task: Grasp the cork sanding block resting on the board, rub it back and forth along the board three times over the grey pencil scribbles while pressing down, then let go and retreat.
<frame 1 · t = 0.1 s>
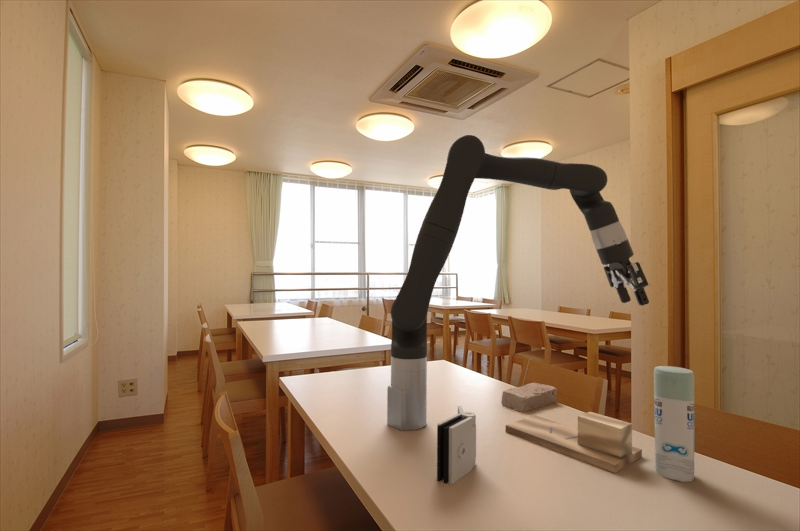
hand: (635, 303, 102), 31 cm above the table, tool tilted 20°, fingers open, 8 cm apart
brick: (529, 404, 121), on the table
hinge: (456, 468, 80), on the table
board: (568, 443, 92), on the table
sanding block: (604, 448, 86), point 2 cm above the table, touching board
spray paint can: (674, 474, 78), on the table
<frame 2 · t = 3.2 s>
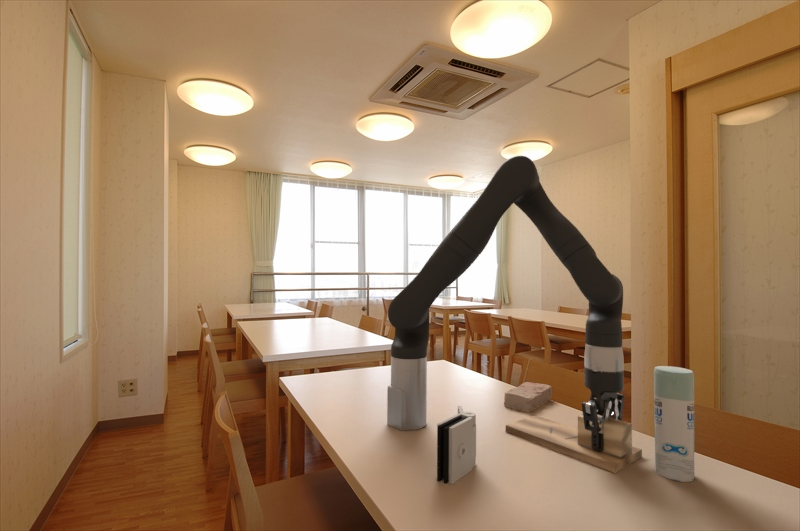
hand: (604, 446, 86), 2 cm above the table, tool pointing down, fingers closed on sanding block, 5 cm apart
sanding block: (604, 448, 86), point 2 cm above the table, touching board, gripper
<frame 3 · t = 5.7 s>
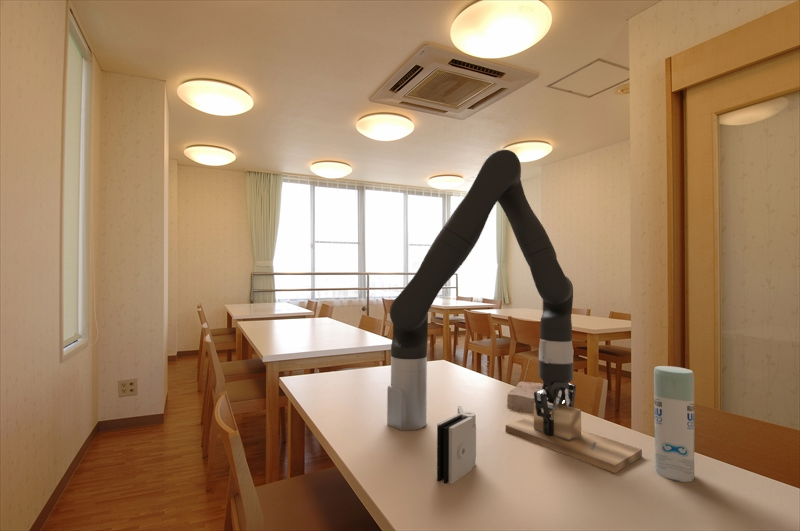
hand: (555, 431, 95), 2 cm above the table, tool pointing down, fingers closed on sanding block, 5 cm apart
sanding block: (556, 432, 94), point 2 cm above the table, touching gripper
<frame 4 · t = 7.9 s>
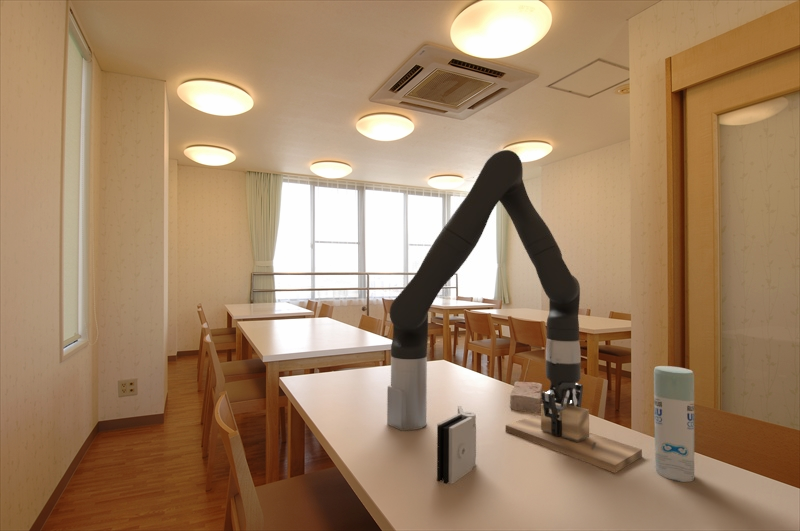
hand: (563, 432, 94), 2 cm above the table, tool pointing down, fingers closed on sanding block, 5 cm apart
sanding block: (564, 433, 93), point 2 cm above the table, touching gripper
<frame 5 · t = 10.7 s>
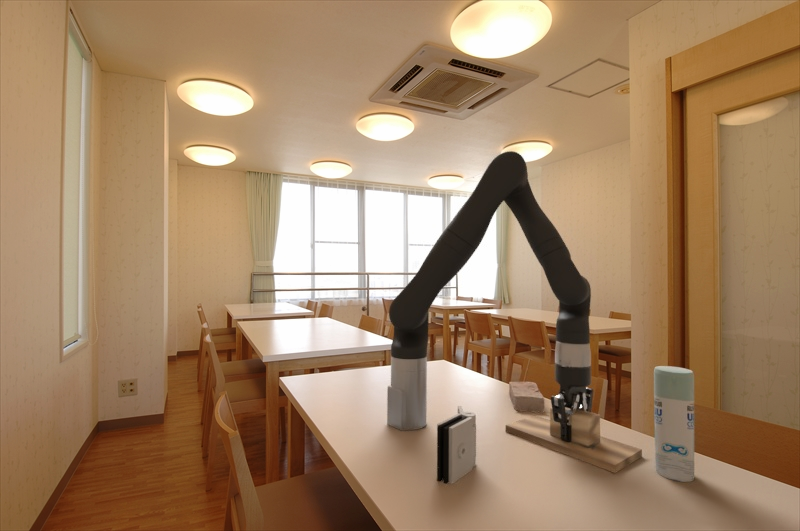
hand: (572, 437, 91), 2 cm above the table, tool pointing down, fingers closed on sanding block, 5 cm apart
sanding block: (574, 438, 91), point 2 cm above the table, touching gripper
when the fingers open (2 cm above the table, at t = 12.9 s): sanding block stays where it is, resting on board.
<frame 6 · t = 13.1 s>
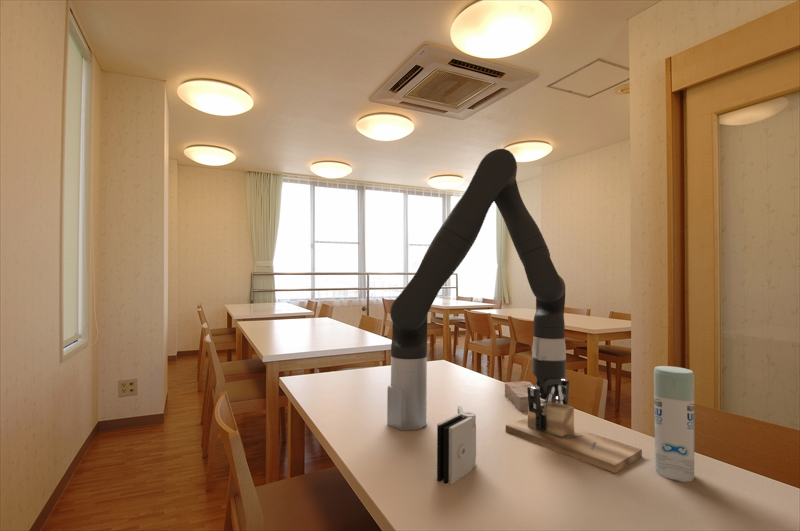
hand: (549, 426, 96), 2 cm above the table, tool pointing down, fingers open, 6 cm apart
sanding block: (550, 429, 96), point 2 cm above the table, touching board
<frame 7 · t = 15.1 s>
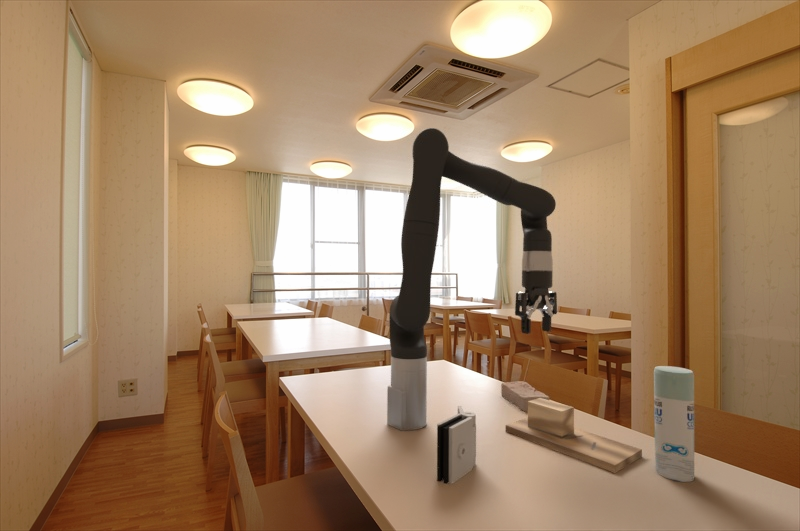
hand: (536, 332, 104), 24 cm above the table, tool pointing down, fingers open, 8 cm apart
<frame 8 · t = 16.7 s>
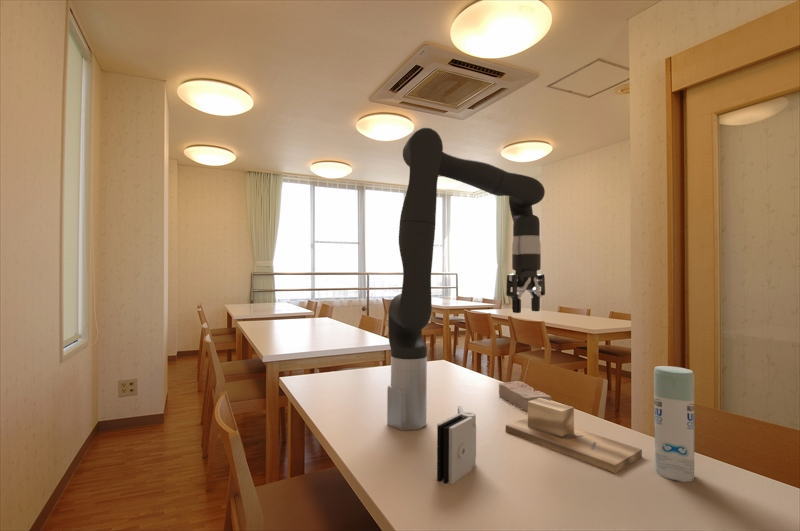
hand: (526, 312, 111), 28 cm above the table, tool pointing down, fingers open, 8 cm apart
at the end: sanding block inside the target area on the board (4.7 cm from its centre), point 1.6 cm above the board's base; sanding block moved 12.7 cm from its start; the gripper is holding nothing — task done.
